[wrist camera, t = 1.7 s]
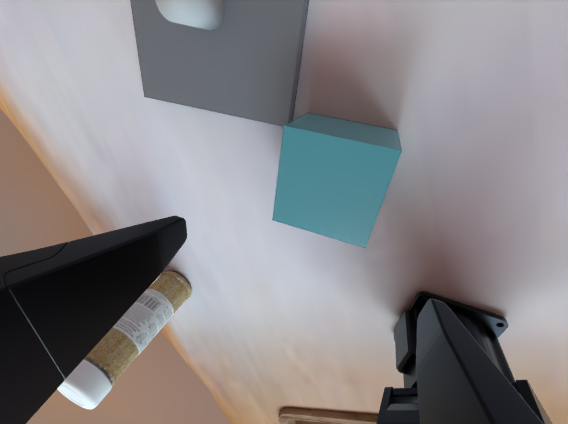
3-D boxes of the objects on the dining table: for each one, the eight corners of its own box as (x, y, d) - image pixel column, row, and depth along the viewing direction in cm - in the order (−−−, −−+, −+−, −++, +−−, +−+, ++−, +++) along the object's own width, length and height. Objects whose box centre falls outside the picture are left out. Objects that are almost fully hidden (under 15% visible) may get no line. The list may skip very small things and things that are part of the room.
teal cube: (397, 130, 16) (401, 150, 12) (369, 210, 19) (365, 248, 15) (307, 112, 18) (283, 125, 14) (294, 190, 21) (272, 220, 17)
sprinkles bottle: (159, 282, 34) (47, 386, 23) (167, 263, 31) (46, 370, 20) (187, 302, 34) (90, 417, 23) (198, 285, 31) (94, 404, 20)
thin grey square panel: (327, -134, 12) (303, -217, 9) (291, 124, 18) (269, 137, 15) (125, -129, 15) (43, -191, 11) (153, 95, 21) (106, 100, 18)
